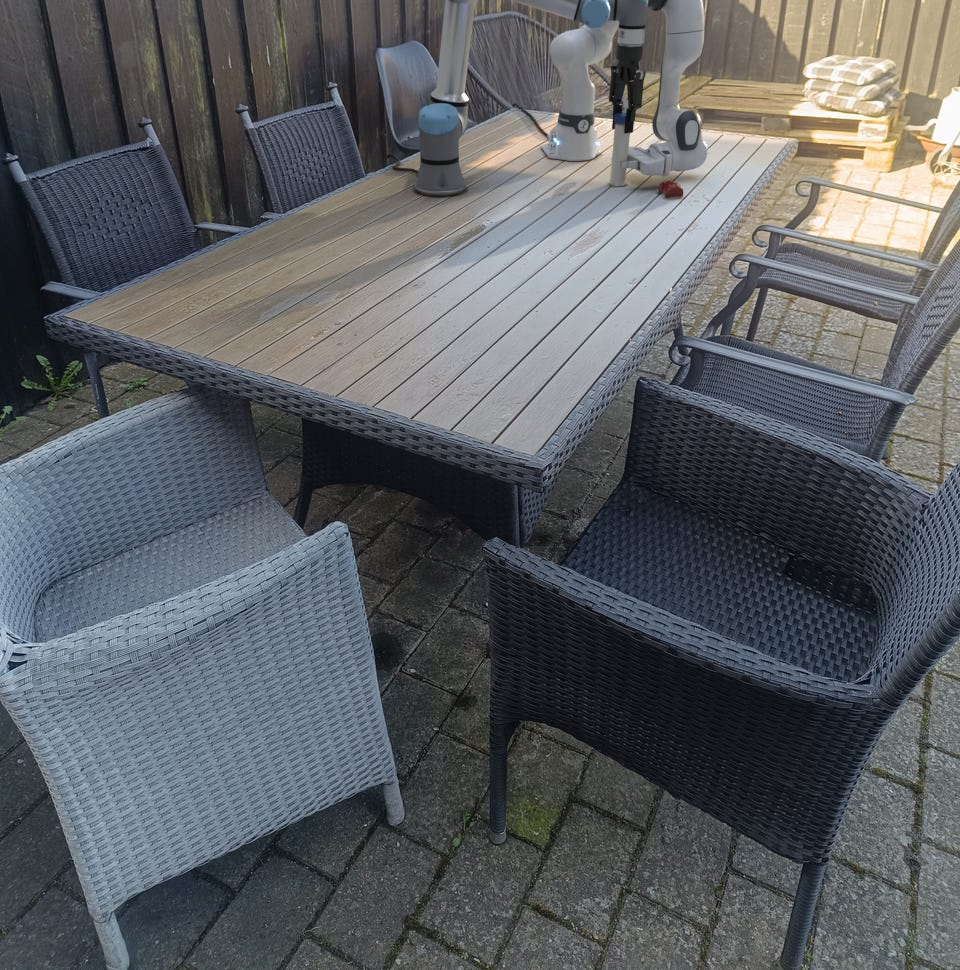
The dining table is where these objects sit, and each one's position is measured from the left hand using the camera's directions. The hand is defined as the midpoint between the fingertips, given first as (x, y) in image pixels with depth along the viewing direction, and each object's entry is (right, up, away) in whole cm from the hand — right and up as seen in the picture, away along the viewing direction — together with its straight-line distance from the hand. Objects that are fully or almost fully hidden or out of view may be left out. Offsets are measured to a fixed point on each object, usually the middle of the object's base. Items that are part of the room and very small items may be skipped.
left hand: (622, 130), depth 254 cm
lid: (0, +3, -2) cm, 4 cm away
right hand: (-1, -8, +5) cm, 9 cm away
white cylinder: (0, -13, +9) cm, 16 cm away
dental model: (+14, -20, 0) cm, 24 cm away
